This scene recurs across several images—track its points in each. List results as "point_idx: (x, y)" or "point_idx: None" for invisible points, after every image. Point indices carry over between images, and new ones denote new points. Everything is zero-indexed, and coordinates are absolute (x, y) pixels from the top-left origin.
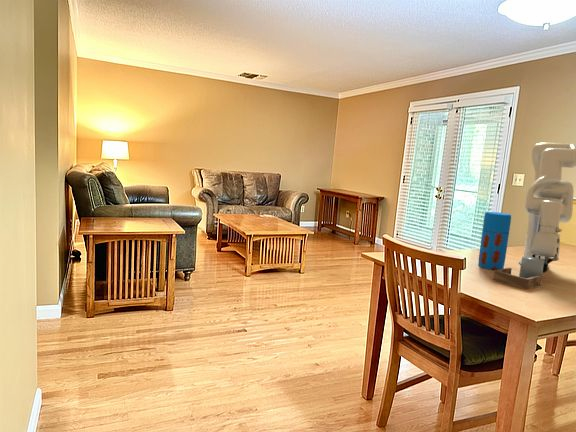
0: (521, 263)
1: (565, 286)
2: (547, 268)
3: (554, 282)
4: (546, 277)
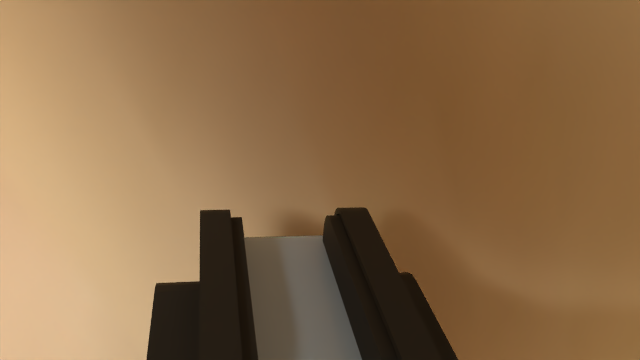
0: None
1: (628, 314)
2: (426, 306)
3: (504, 272)
4: (339, 84)
